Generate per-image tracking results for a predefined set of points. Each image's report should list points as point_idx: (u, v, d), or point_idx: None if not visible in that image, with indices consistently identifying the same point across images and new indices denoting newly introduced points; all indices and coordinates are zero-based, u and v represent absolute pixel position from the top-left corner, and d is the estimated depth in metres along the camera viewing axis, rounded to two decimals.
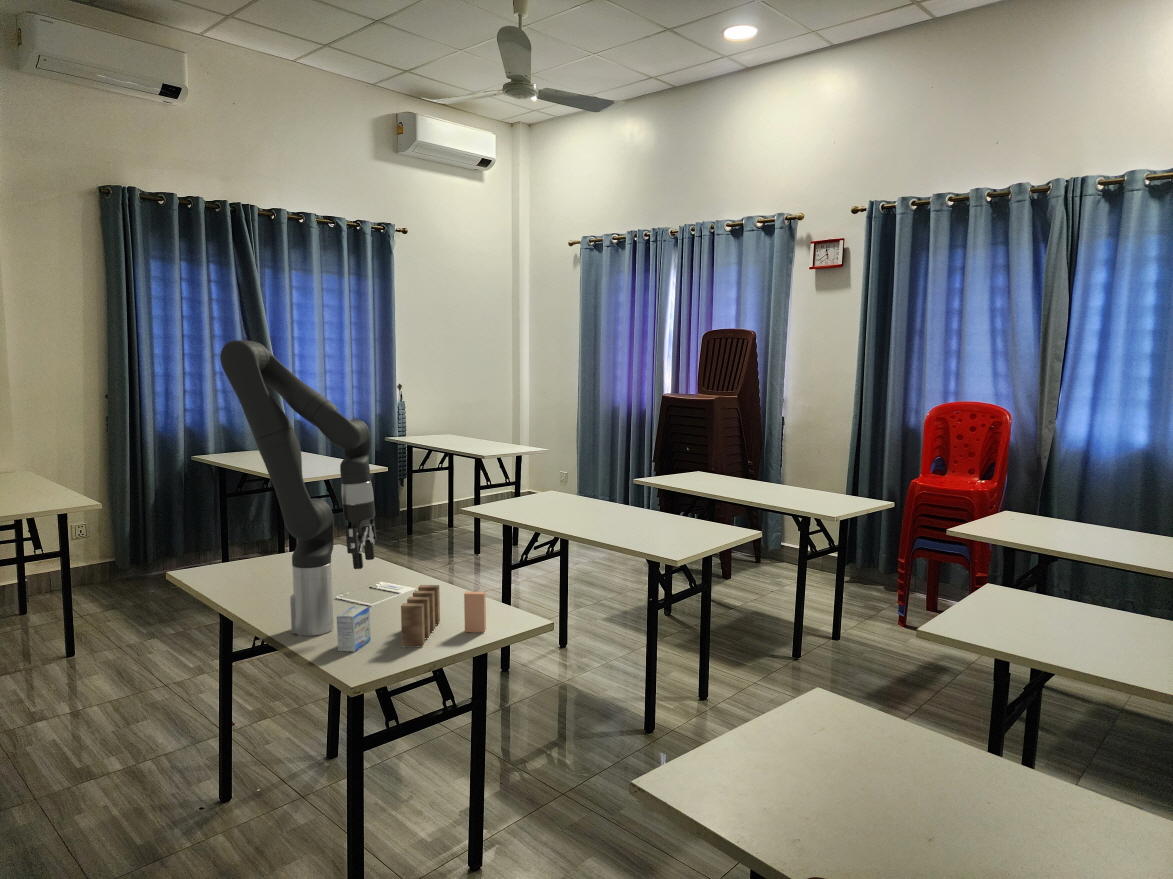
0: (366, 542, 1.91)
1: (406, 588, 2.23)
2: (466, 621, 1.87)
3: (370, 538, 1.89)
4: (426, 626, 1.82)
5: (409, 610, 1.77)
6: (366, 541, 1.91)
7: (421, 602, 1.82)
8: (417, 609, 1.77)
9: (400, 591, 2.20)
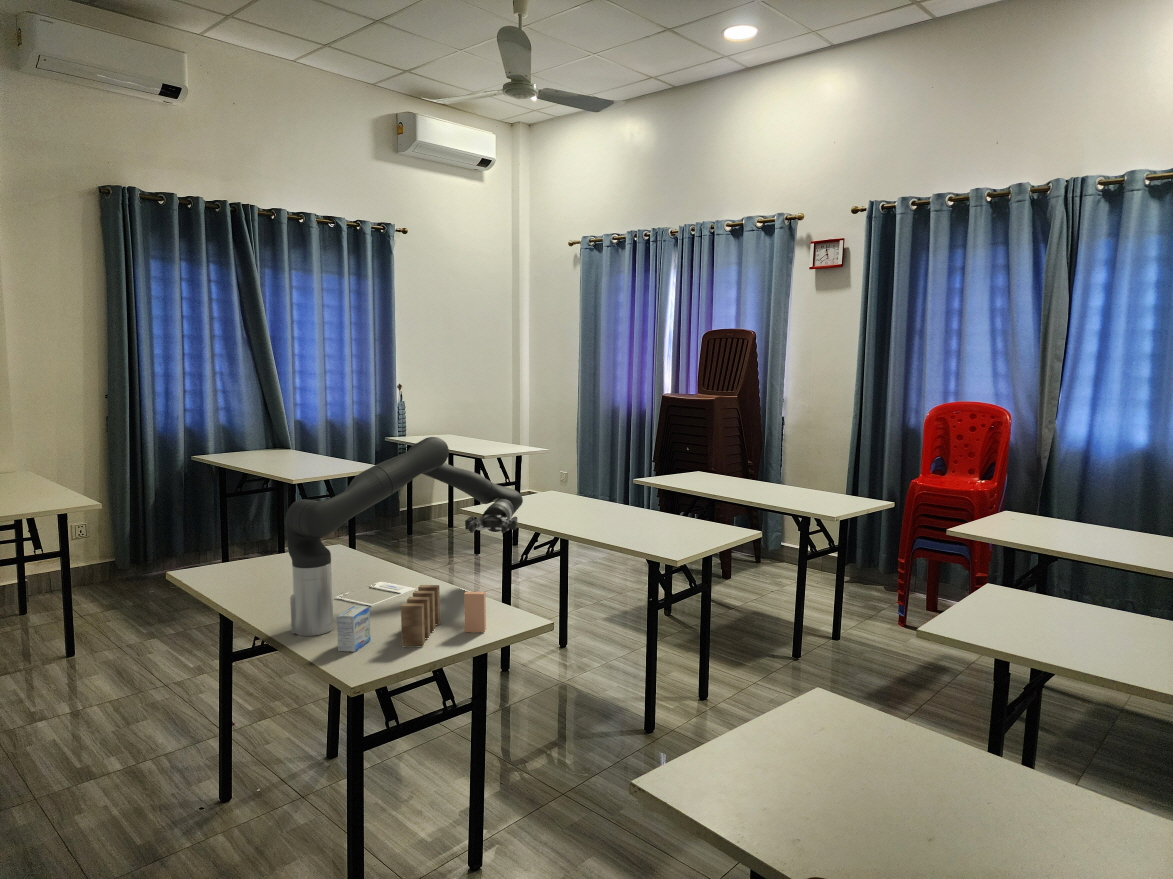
0: (475, 523, 2.07)
1: (406, 588, 2.23)
2: (466, 621, 1.87)
3: (480, 528, 2.08)
4: (426, 626, 1.82)
5: (409, 610, 1.77)
6: None
7: (421, 602, 1.82)
8: (417, 609, 1.77)
9: (400, 591, 2.20)
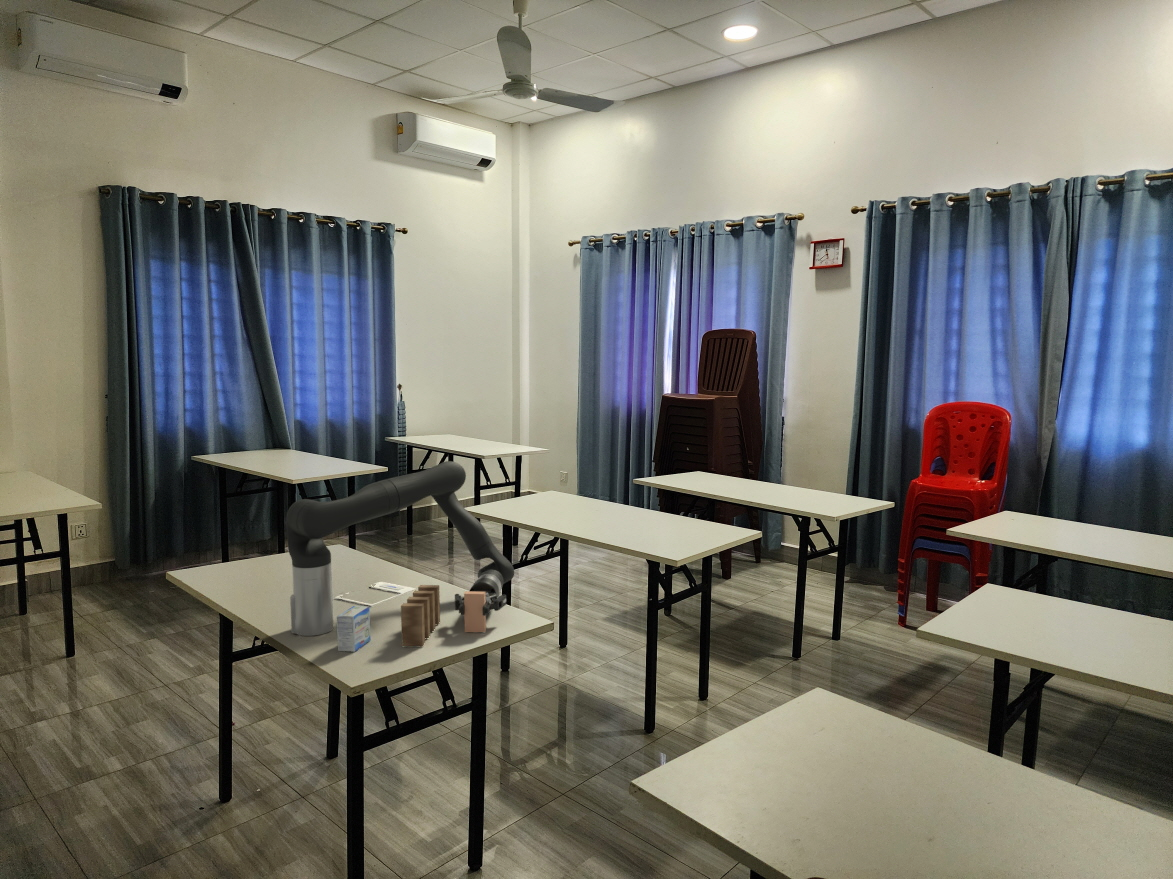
0: None
1: (406, 588, 2.23)
2: (466, 621, 1.87)
3: None
4: (426, 626, 1.82)
5: (409, 610, 1.77)
6: None
7: (421, 602, 1.82)
8: (417, 609, 1.77)
9: (400, 591, 2.20)
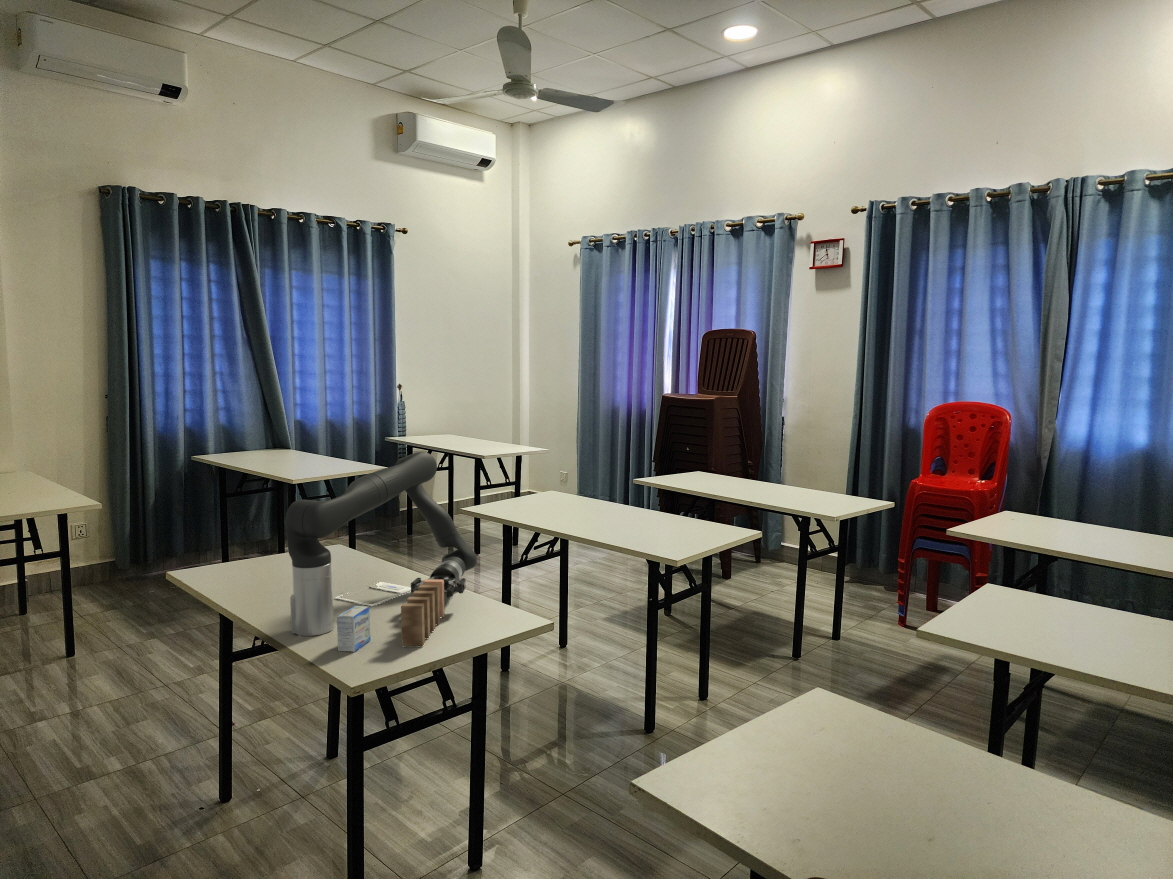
0: None
1: (406, 588, 2.23)
2: None
3: None
4: (426, 626, 1.82)
5: (409, 610, 1.77)
6: None
7: (421, 602, 1.82)
8: (417, 609, 1.77)
9: (400, 591, 2.20)
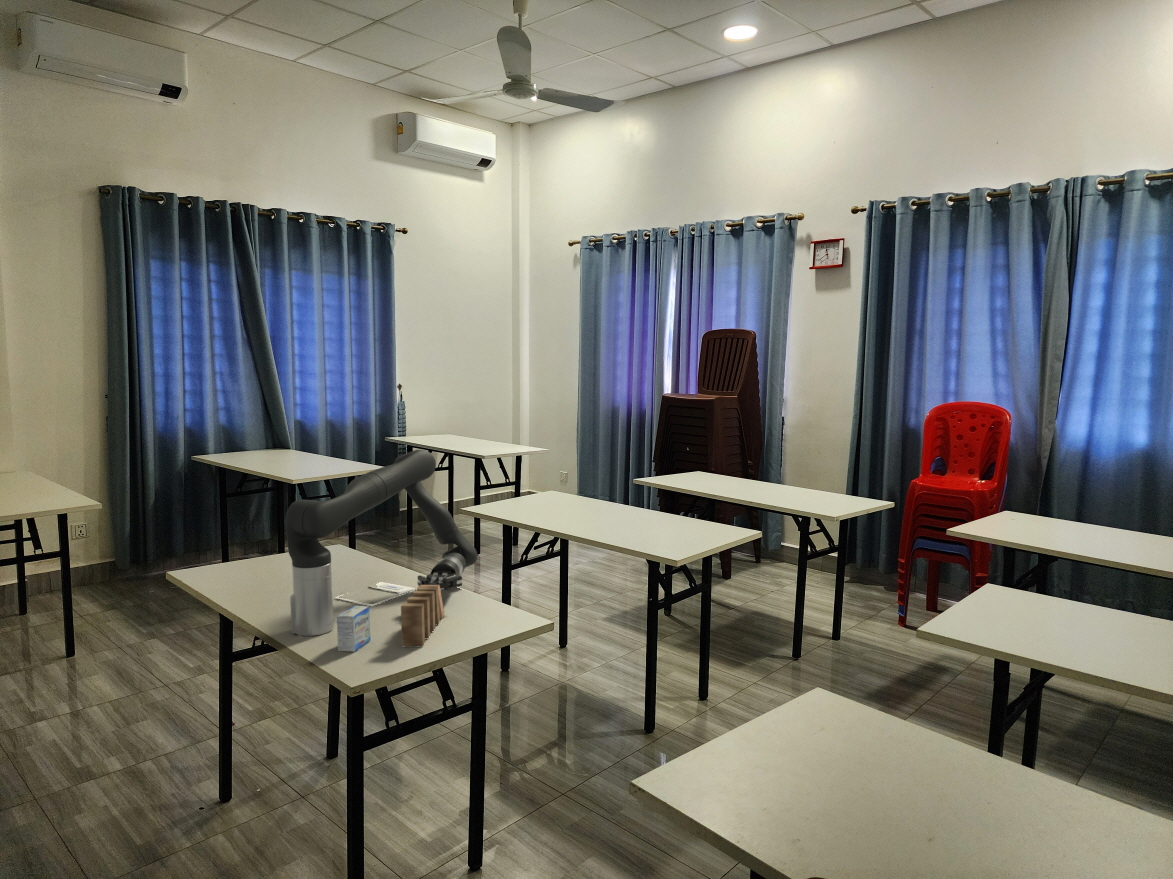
0: None
1: (406, 588, 2.23)
2: None
3: None
4: (426, 626, 1.82)
5: (409, 610, 1.77)
6: None
7: (421, 602, 1.82)
8: (417, 609, 1.77)
9: (400, 591, 2.20)
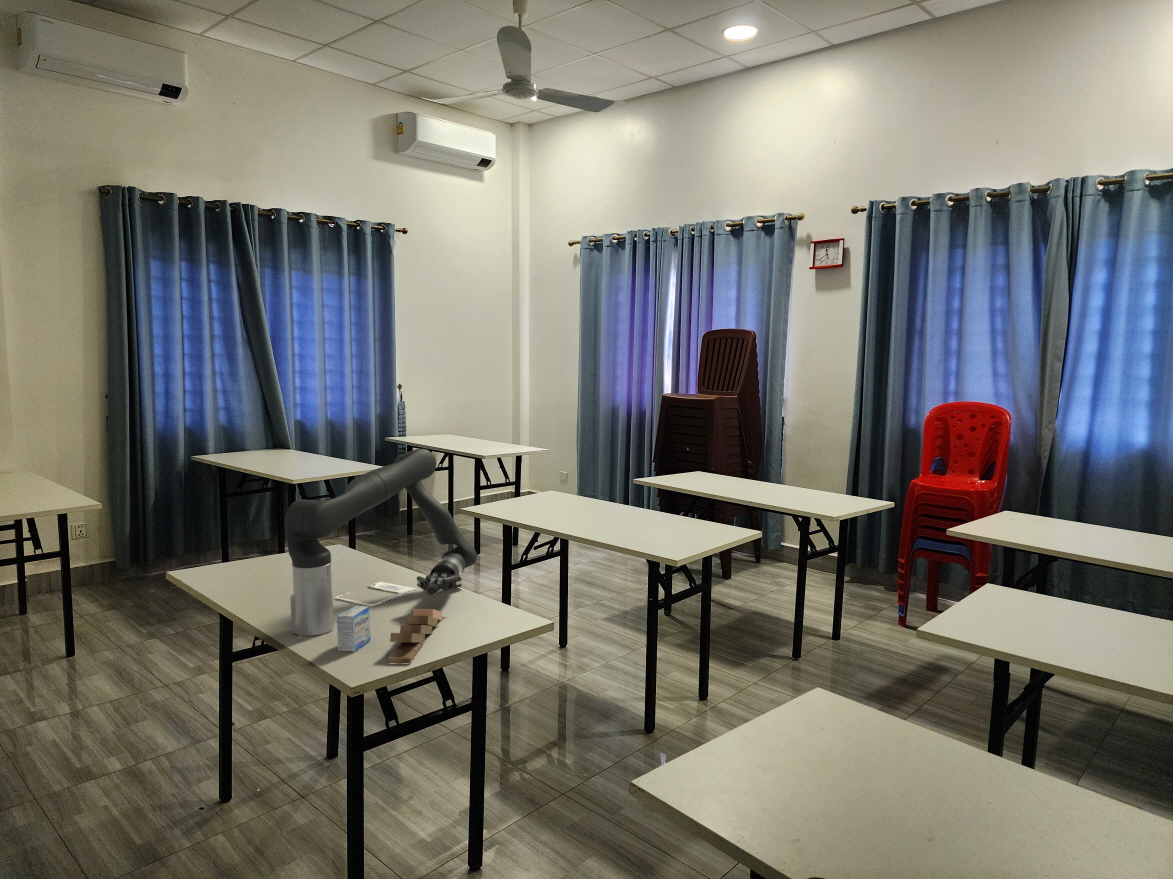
0: None
1: (406, 588, 2.23)
2: None
3: None
4: None
5: None
6: None
7: None
8: None
9: (400, 591, 2.20)
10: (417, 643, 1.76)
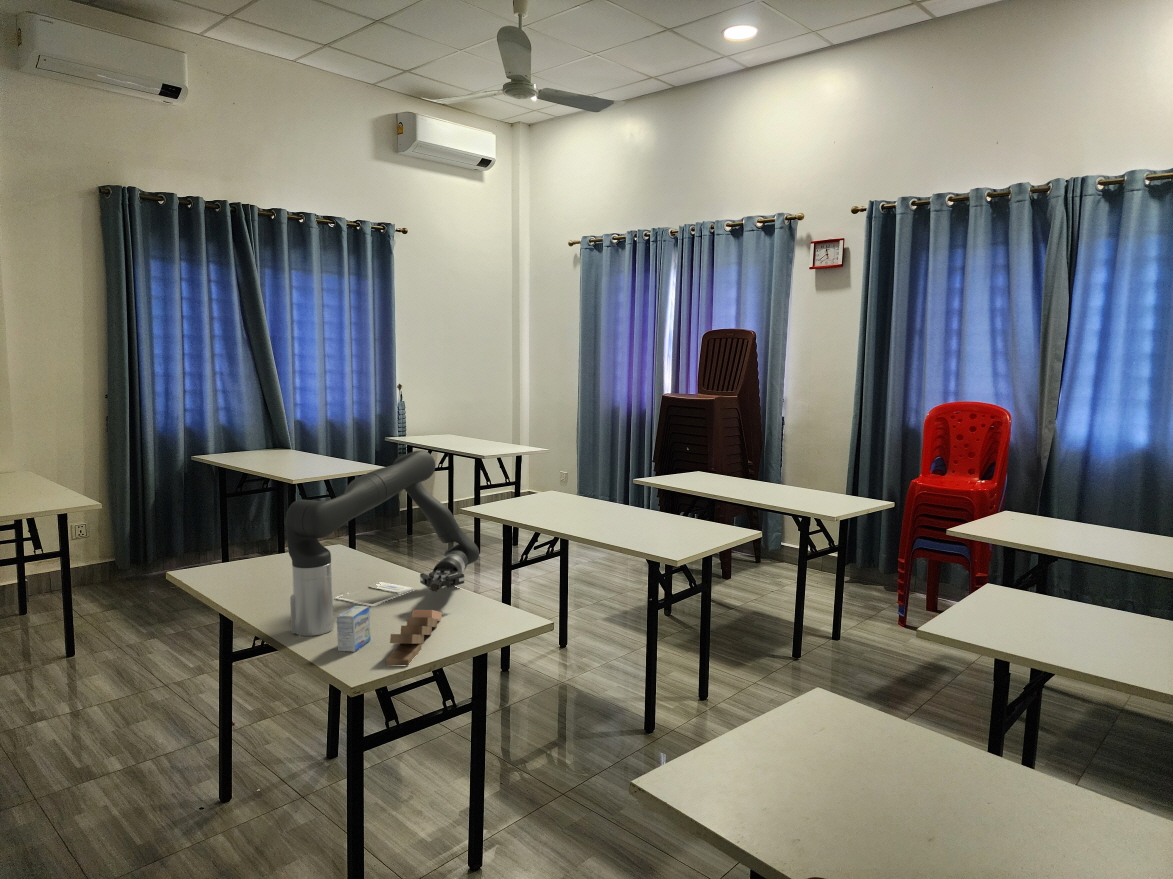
0: None
1: (406, 588, 2.23)
2: None
3: None
4: None
5: None
6: None
7: None
8: None
9: (400, 591, 2.20)
10: (416, 644, 1.75)
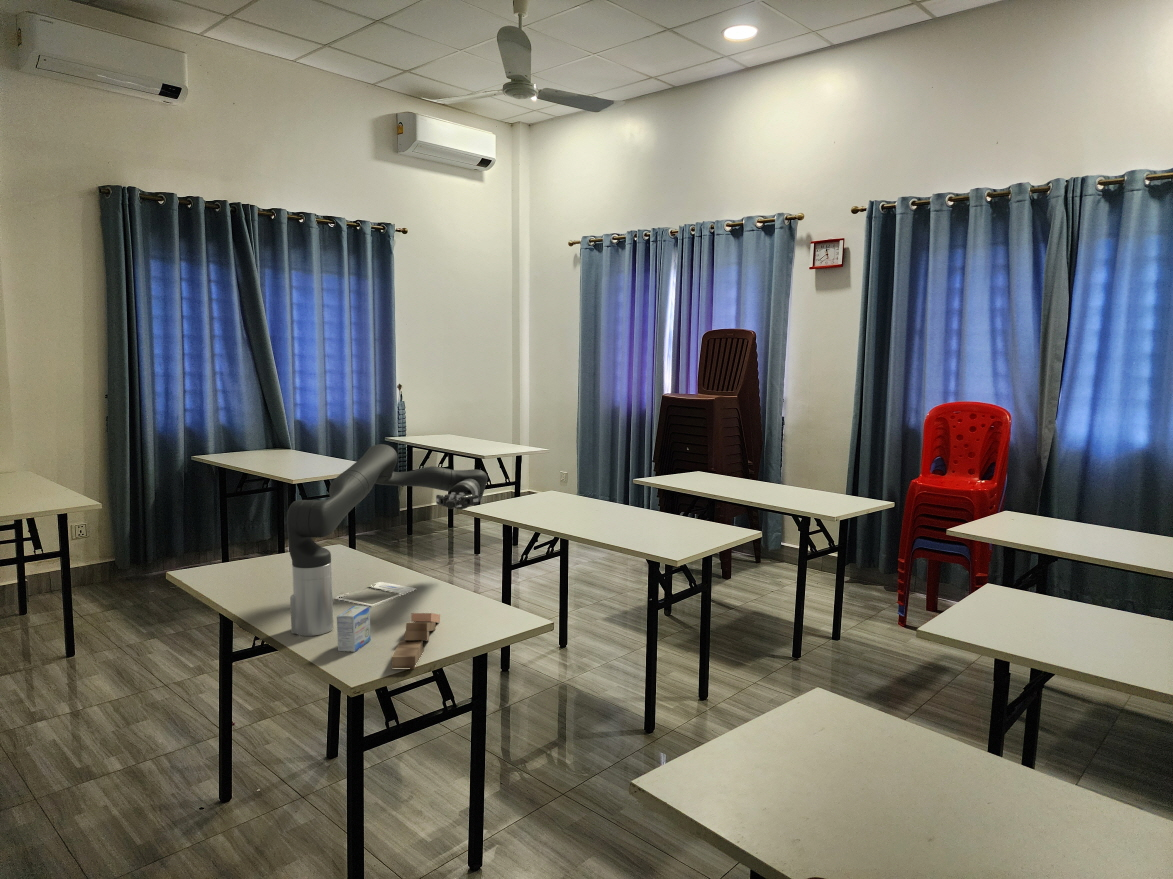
0: None
1: (406, 588, 2.23)
2: None
3: None
4: None
5: None
6: None
7: None
8: None
9: (400, 591, 2.20)
10: None
